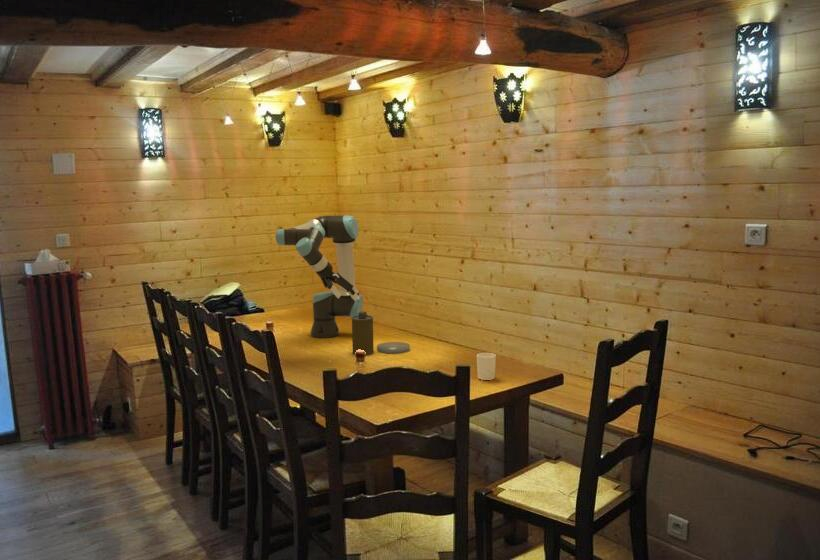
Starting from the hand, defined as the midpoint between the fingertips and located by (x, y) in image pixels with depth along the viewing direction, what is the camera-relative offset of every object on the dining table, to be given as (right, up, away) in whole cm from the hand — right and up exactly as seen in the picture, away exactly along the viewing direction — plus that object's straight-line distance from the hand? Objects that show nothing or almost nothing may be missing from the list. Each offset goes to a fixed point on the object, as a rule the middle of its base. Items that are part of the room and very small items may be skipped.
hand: (348, 297), depth 318 cm
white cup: (+61, -33, -39) cm, 79 cm away
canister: (+7, -27, +6) cm, 28 cm away
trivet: (+21, -26, +12) cm, 35 cm away
